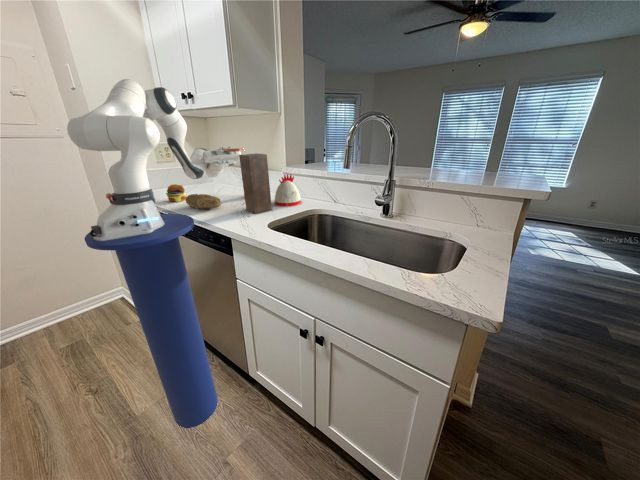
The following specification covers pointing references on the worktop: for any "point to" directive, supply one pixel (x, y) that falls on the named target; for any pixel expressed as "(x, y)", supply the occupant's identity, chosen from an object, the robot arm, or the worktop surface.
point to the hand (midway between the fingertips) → (226, 148)
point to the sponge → (203, 201)
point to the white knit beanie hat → (287, 193)
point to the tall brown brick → (256, 182)
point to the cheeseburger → (176, 193)
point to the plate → (233, 149)
